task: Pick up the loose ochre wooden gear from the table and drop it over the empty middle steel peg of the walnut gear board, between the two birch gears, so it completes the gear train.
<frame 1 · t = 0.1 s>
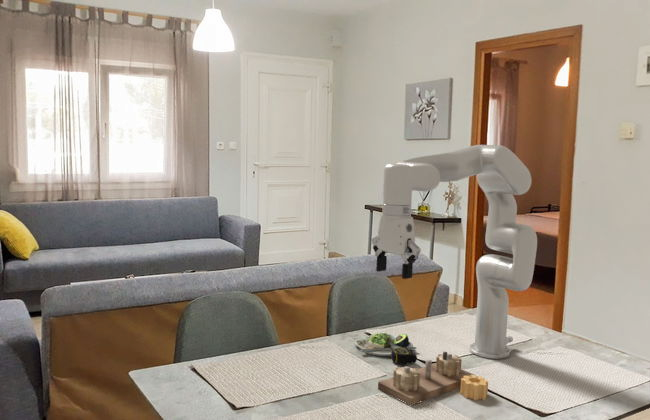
hand: (393, 274, 155), 31 cm above the table, fingers open, 9 cm apart
gear board: (427, 385, 160), on the table
salad plate: (385, 348, 188), on the table
ochre gear: (473, 394, 155), on the table
tape measure: (403, 362, 177), on the table
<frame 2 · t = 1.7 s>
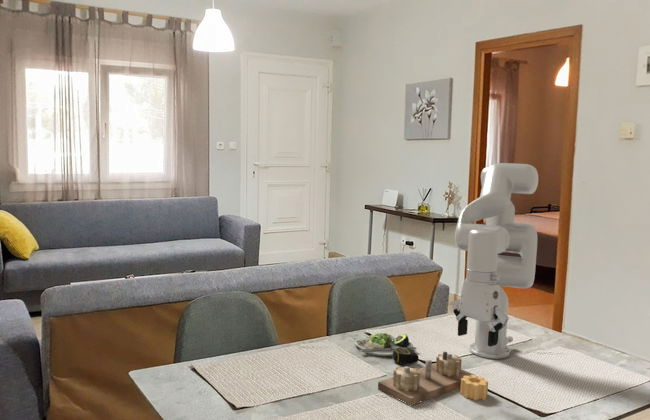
hand: (477, 340, 153), 15 cm above the table, fingers open, 9 cm apart
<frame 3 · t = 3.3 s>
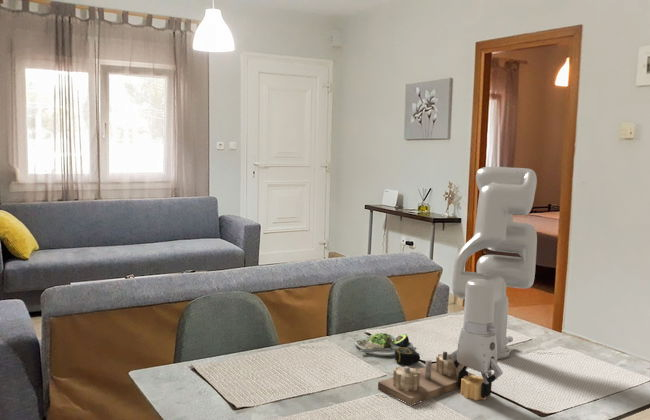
hand: (473, 390, 155), 1 cm above the table, fingers closed on ochre gear, 6 cm apart
ochre gear: (474, 394, 155), on the table, touching gripper
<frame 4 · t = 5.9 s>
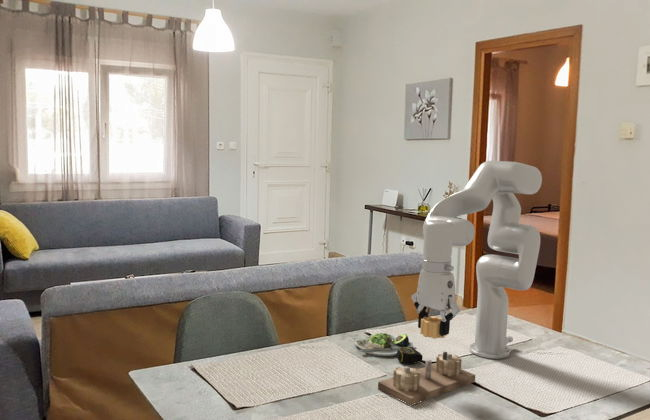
hand: (433, 330, 157), 16 cm above the table, fingers closed on ochre gear, 6 cm apart
ochre gear: (433, 334, 158), point 15 cm above the table, touching gripper
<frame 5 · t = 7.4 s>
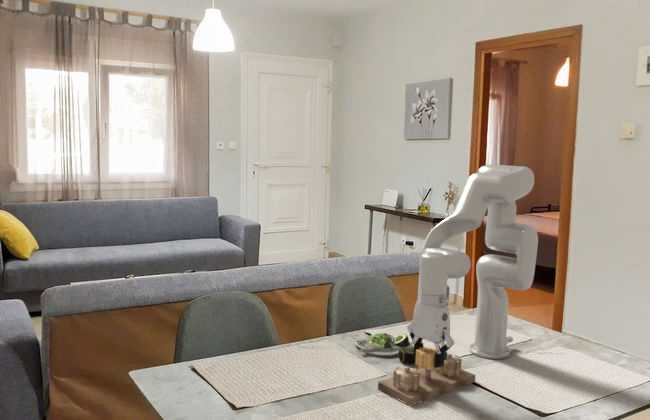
hand: (428, 361, 159), 7 cm above the table, fingers closed on ochre gear, 6 cm apart
ochre gear: (428, 365, 159), point 6 cm above the table, touching gripper
when the fingers open (4 cm above the table, at t = 8.5 s): ochre gear stays where it is, resting on gear board.
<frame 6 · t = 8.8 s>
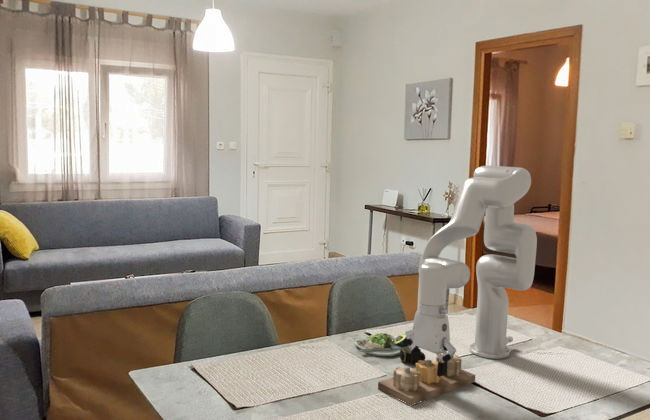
hand: (428, 369, 159), 5 cm above the table, fingers open, 9 cm apart
ochre gear: (428, 378, 160), point 2 cm above the table, touching gear board
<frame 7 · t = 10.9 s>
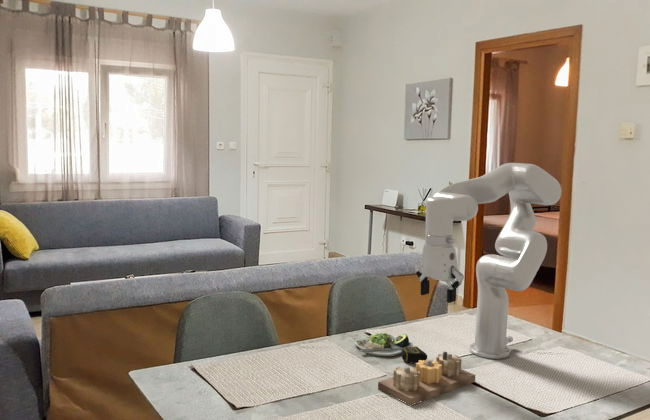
hand: (437, 298, 168), 22 cm above the table, fingers open, 9 cm apart
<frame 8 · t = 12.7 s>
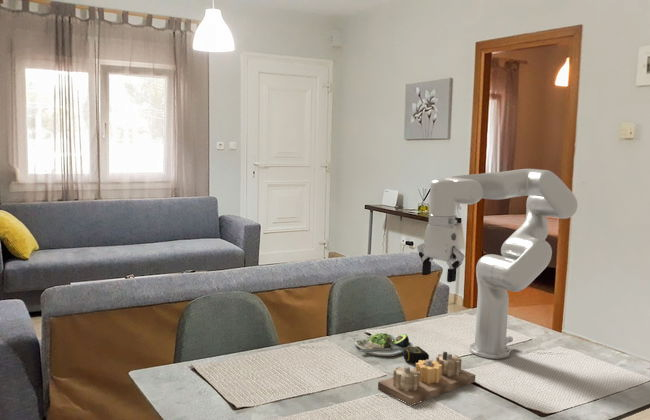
hand: (438, 278, 173), 26 cm above the table, fingers open, 9 cm apart
at the end: ochre gear 0.1 cm off-centre on the gear board, point 2.0 cm above the gear board's base; ochre gear tilted 0°; the gripper is holding nothing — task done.
